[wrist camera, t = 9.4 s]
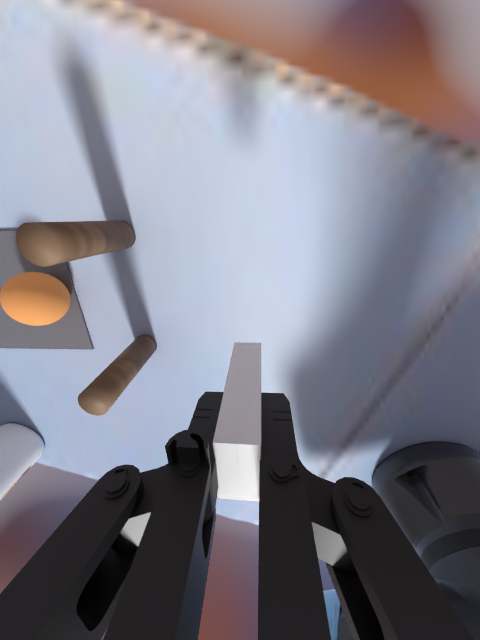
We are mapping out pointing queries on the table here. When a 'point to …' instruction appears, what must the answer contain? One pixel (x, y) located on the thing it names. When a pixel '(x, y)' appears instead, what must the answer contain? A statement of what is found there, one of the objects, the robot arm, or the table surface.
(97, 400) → the post
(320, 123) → the table surface
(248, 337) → the table surface
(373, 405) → the table surface
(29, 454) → the milk bottle
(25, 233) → the post
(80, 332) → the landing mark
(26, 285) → the ball
